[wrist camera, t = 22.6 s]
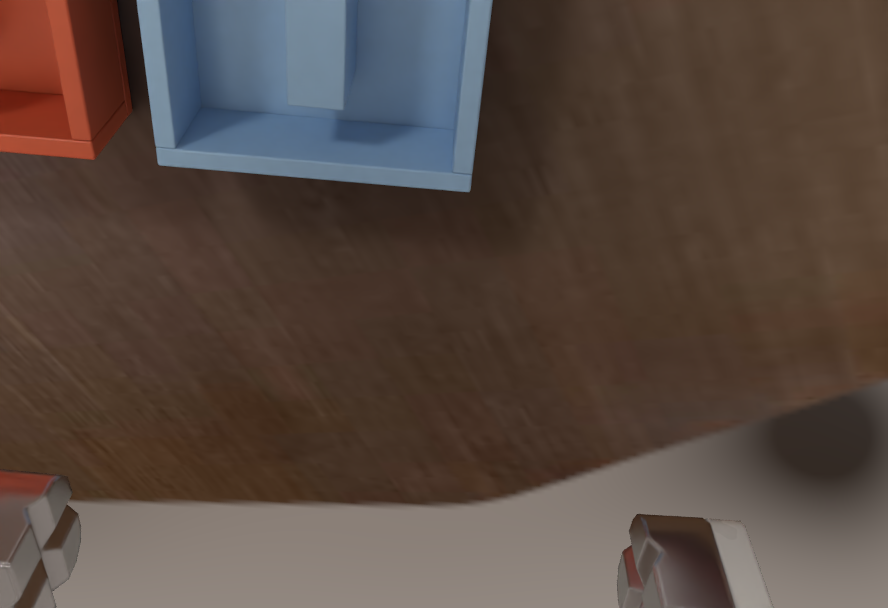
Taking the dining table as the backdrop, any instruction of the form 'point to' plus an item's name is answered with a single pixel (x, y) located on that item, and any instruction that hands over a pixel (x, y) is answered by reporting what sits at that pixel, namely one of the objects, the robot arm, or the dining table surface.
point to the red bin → (61, 77)
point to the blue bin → (315, 129)
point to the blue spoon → (320, 52)
